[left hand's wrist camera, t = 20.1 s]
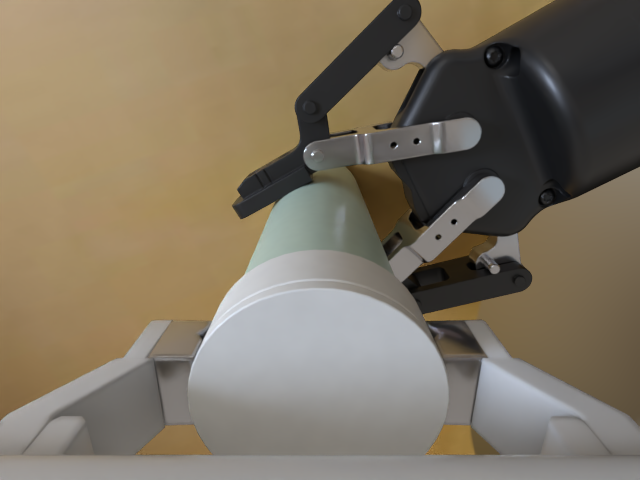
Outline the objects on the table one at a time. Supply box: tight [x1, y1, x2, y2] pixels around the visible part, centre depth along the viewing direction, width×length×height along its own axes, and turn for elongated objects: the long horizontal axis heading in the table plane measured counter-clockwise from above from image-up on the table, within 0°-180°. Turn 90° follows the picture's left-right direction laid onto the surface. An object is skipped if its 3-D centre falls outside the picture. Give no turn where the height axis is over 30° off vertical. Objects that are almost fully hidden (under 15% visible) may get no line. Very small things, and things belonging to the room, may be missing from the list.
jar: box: [245, 167, 394, 275], centre depth 17 cm, size 5×5×17 cm
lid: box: [188, 250, 449, 455], centre depth 9 cm, size 5×5×2 cm
